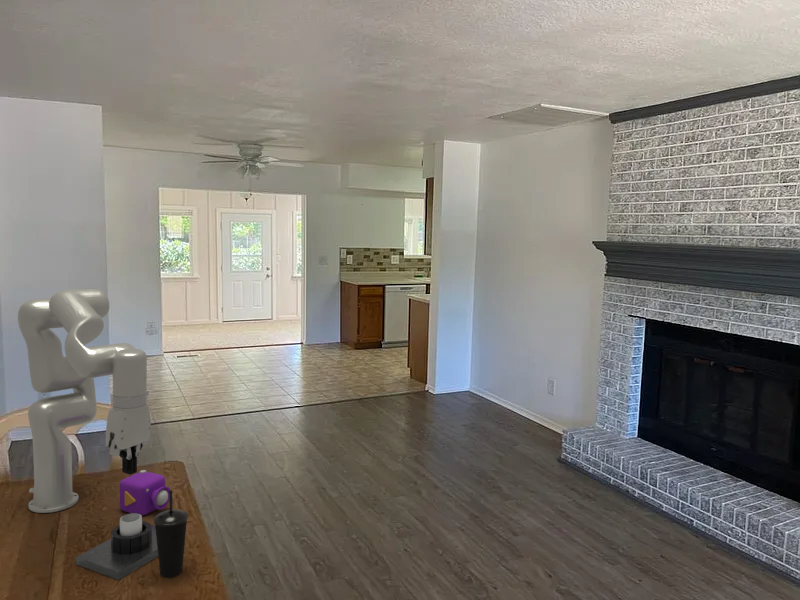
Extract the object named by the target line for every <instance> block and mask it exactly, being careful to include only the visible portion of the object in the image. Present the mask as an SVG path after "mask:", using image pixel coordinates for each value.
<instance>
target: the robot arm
mask: <svg viewBox="0 0 800 600" xmlns="http://www.w3.org/2000/svg"><path fill="white" fill-rule="evenodd" d="M109 310H110V300H109V298H108V296H107V294H106V293H105V292H104V291H103V290H101V289H99V288H77V289H76V288H75V289H71V288H70V289H63V290H59V291H57V292H56V293H54V294H53V295H52V296H51V297H50V298H39V299H33V300H32V299H31V300H28V301H25V302H23V303H21V305H20V306H19V308H18V312H17V324H18V326H19V327H18V328H19V330H20V333H21V335H22V337H23V340H24V342H25V345H26V349H27V358H28V368H29V376H30V382H31V386H32V389H33V390H34V391H35V392H37V393H40V394H43V393H45V394H46V393H54V392H60V391H66V390H72V392H71V393H65V394H59V395H58V394H57V395H54V396H48V397H45V398H40V399H38V400H36V401H33V403H32V404H30V406H29V408H28V410H27V411H28V412H27V416H28V423H29V427H30V432H31V436H32V437H31V438H32V452H33V453H32V454H33V455H32V456H33V477H34V478H33V481H34V485H33V487H30V488H29V490H28V492H29V493H30V494H32V495H33V498H32V499H30V501H29V502H28V509H29V511H31V512H34V513H37V514H38V513H39V514H47V513H55V512H60V511H63V510H66V509H69V508H71V507H74V506H75V505H76V504H77V503H78V501H79V498H80V497H79V494H78V493H76V492H74V491H73V459H72V455H73V454H72V453H73V452H72V451H73V449H72V441H71V440H70V437H68V436H67V435H66V434H65V433H64V432H63V431H62V430H63V429H67V428H70V427H71V428H72V427H75V426H79V425H83V424H87V423H89V422H92V421H93V420H94V419H95V417H96V416H97V410H98V409H97V397H96V387H95V378H99V377H106V376H112V406H111V407H110V408H109V410H108V413H107V419H106V426H105V427H106V428H105V447H106V448H109V455H110V456H111V457H112V456H113V457H116V456H117V457H119V458H121V459H122V461H121V463H122V465H121V468H122V470H121V471H122V473H124V474H127V475H129V476H132V475H134V474H136V473H138V457H139V456H140V454H141V450H142V448H143V447H144V446H146V445H148V443H149V442H150V441H149V440H150V438H151V434H152V433H151V432H152V425H151V424H152V422H151V421H152V420H151V413H150V412H151V411H150V407H149V403H148V402H147V397H148V396H149V395H150V394H149V391H147V386H148V384H147V383H148V381H147V380H148V379H147V378H148V377H147V373H148V366H147V365H148V359H147V358H148V356H147V354H146V351H144V350H142V349H138V348H136V347H135V346H134V345H132V344H130V343H126V342H123V343H122V342H121V343H114V344H113V343H111V344H105V345H104V344H103V345H96V346H86V345H87V344H89V343H91V342H93V341H95V339H97V338H98V337H99V336H100V335H101V333H102V332H103V330H104V325H105V322H104V320H103V318H105V317H106V316H107V315H108V313H109ZM59 328H63V329H64V331H66V332H67V335H66V337H65V339H64V354H65V356H64V354H63V346H62V342H61V339H60V338H59V336H58V335H57V334H56V333H55V332H54V331H52V330H51V329H59Z"/></svg>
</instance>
